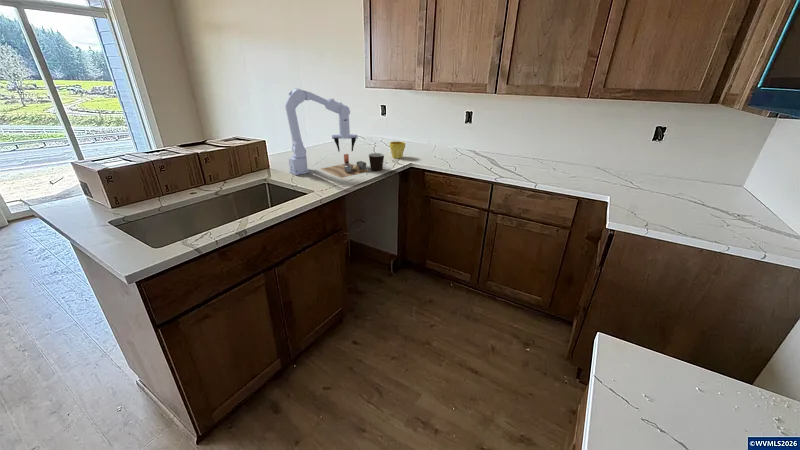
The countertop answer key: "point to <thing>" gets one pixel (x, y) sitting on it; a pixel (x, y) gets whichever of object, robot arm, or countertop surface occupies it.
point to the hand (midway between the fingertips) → (345, 151)
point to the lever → (347, 164)
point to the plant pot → (397, 149)
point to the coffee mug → (376, 161)
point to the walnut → (356, 167)
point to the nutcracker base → (341, 172)
